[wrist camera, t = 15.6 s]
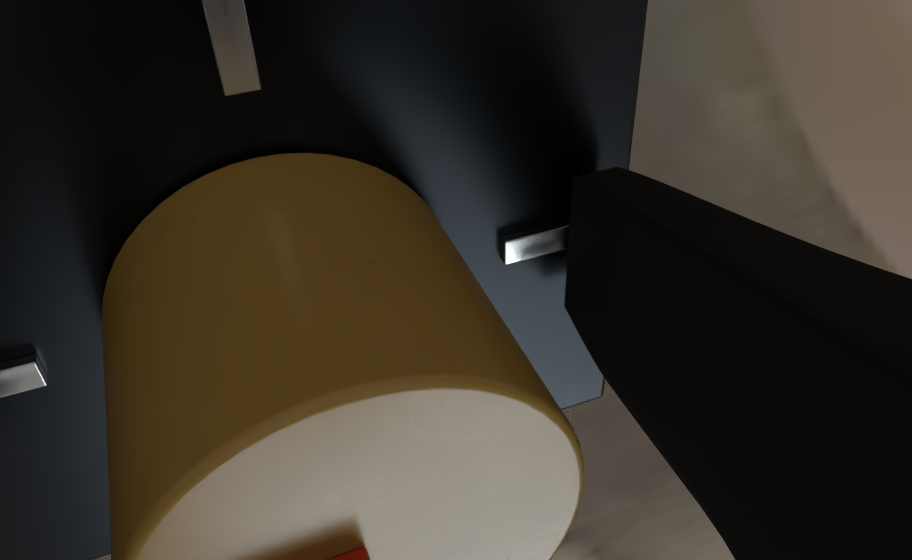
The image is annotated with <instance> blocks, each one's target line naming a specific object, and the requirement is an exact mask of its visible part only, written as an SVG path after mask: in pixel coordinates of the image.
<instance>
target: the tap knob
mask: <svg viewBox="0 0 912 560" xmlns="http://www.w3.org/2000/svg"><path fill="white" fill-rule="evenodd" d="M102 338H103V363H104V388H105V413H106V438H107V463H108V488H109V513H110V538H111V560H551V558H552V557H553V556H554V554H555V553H556V551H557V550H558V548H559V547H560V545H561V544H562V542H563V541H564V539H565V538H566V536H567V534H568V532H569V530H570V528H571V526H572V524H573V522H574V520H575V517H576V514H577V511H578V508H579V505H580V502H581V497H582V492H583V486H584V464H583V457H582V452H581V447H580V443H579V440H578V438H577V436H576V434H575V432H574V430H573V427H572V425H571V424H570V422H569V421H568V419H567V418H566V416H565V415H564V413H563V412H562V410H561V409H560V407H559V405H558V404H557V402H556V401H555V399H554V398H553V396H552V395H551V393H550V392H549V390H548V389H547V387H546V385H545V384H544V382H543V381H542V379H541V378H540V376H539V375H538V373H537V372H536V370H535V368H534V367H533V365H532V364H531V362H530V361H529V359H528V358H527V356H526V355H525V353H524V352H523V350H522V348H521V347H520V345H519V344H518V342H517V341H516V339H515V338H514V336H513V335H512V333H511V331H510V330H509V328H508V327H507V325H506V324H505V322H504V321H503V319H502V318H501V316H500V315H499V313H498V311H497V310H496V308H495V307H494V305H493V304H492V302H491V301H490V299H489V298H488V296H487V294H486V293H485V291H484V290H483V288H482V287H481V285H480V284H479V282H478V281H477V279H476V278H475V276H474V274H473V273H472V271H471V270H470V268H469V267H468V265H467V264H466V262H465V261H464V259H463V257H462V256H461V254H460V253H459V251H458V250H457V248H456V247H455V245H454V244H453V242H452V241H451V239H450V237H449V236H448V234H447V233H446V231H445V230H444V228H443V227H442V225H441V224H440V222H439V220H438V219H437V217H436V216H435V215H434V213H433V212H432V211H431V209H430V208H429V206H428V205H427V204H426V202H425V201H424V200H423V199H422V198H421V197H420V196H418V195H417V194H416V193H415V192H414V191H413V190H412V189H411V188H410V187H408V186H407V185H406V184H404V183H403V182H401V181H400V180H399V179H397V178H396V177H394V176H392V175H390V174H388V173H386V172H384V171H382V170H380V169H379V168H377V167H374V166H371V165H368V164H365V163H362V162H360V161H357V160H353V159H348V158H344V157H339V156H334V155H328V154H316V153H283V154H275V155H268V156H262V157H255V158H252V159H248V160H244V161H241V162H237V163H234V164H230V165H228V166H225V167H223V168H220V169H218V170H215V171H213V172H210V173H208V174H205V175H204V176H202V177H200V178H198V179H196V180H194V181H193V182H191V183H189V184H187V185H185V186H184V187H182V188H181V189H179V190H178V191H176V192H175V193H174V194H172V195H171V196H170V197H168V198H167V199H165V200H164V201H163V202H161V203H160V204H159V205H158V206H157V207H156V208H155V209H154V210H153V211H152V212H151V213H150V214H149V215H148V216H146V217H145V218H144V219H143V220H142V222H141V223H140V224H139V225H138V226H137V228H136V229H135V230H134V231H133V233H132V234H131V235H130V236H129V238H128V239H127V240H126V242H125V244H124V245H123V247H122V249H121V250H120V252H119V254H118V255H117V257H116V259H115V261H114V263H113V266H112V268H111V271H110V273H109V276H108V278H107V282H106V287H105V291H104V296H103V302H102Z"/></svg>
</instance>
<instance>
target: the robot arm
mask: <svg viewBox="0 0 912 560" xmlns="http://www.w3.org/2000/svg"><path fill="white" fill-rule="evenodd" d="M564 307H565V309H566V311H567V313H568V314H569V316H570V318H571V320H572V322H573V324H574V326H575V328H576V330H577V332H578V333H579V335H580V337H581V339H582V341H583V343H584V345H585V346H586V348H587V350H588V352H589V353H590V355H591V357H592V359H593V360H594V362H595V364H596V366H597V367H598V369H599V371H600V372H601V373H602V375H603V376H604V378H605V379H606V380H607V382H608V383H609V385H610V386H611V387H612V389H613V390H614V391H615V393H616V394H617V395H618V397H619V398H620V400H621V401H622V402H623V404H624V405H625V406H626V408H627V409H628V410H629V412H630V413H631V414H632V416H633V417H634V419H635V420H636V421H637V422H638V424H639V425H640V426H641V428H642V429H643V430H644V432H645V433H646V434H647V436H648V437H649V438H650V440H651V441H652V442H653V444H654V445H655V446H656V448H657V449H658V450H659V452H660V453H661V454H662V456H663V457H664V458H665V460H666V461H667V462H668V464H669V465H670V466H671V468H672V469H673V470H674V472H675V473H676V474H677V476H678V477H679V478H680V480H681V481H682V482H683V484H684V485H685V486H686V488H687V489H688V490H689V492H690V493H691V494H692V496H693V497H694V498H695V500H696V501H697V502H698V504H699V505H700V506H701V508H702V509H703V511H704V512H705V513H706V515H707V516H708V518H709V519H710V521H711V522H712V524H713V525H714V527H715V528H716V529H717V531H718V532H719V534H720V535H721V537H722V538H723V540H724V541H725V543H726V545H727V546H728V548H729V550H730V551H731V553H732V555H733V556H734V558H735V560H912V279H910V278H907V277H904V276H901V275H897V274H894V273H891V272H888V271H885V270H882V269H879V268H877V267H874V266H871V265H868V264H865V263H863V262H860V261H857V260H854V259H851V258H849V257H846V256H843V255H840V254H837V253H835V252H832V251H829V250H826V249H823V248H821V247H818V246H816V245H813V244H810V243H808V242H805V241H803V240H800V239H797V238H795V237H792V236H790V235H787V234H785V233H782V232H780V231H777V230H775V229H772V228H770V227H767V226H765V225H763V224H760V223H758V222H755V221H753V220H750V219H748V218H745V217H743V216H741V215H738V214H736V213H734V212H731V211H729V210H726V209H724V208H722V207H719V206H717V205H714V204H712V203H710V202H707V201H705V200H703V199H700V198H698V197H695V196H693V195H691V194H688V193H686V192H684V191H681V190H679V189H676V188H674V187H671V186H669V185H667V184H664V183H662V182H659V181H657V180H654V179H651V178H649V177H646V176H644V175H641V174H638V173H635V172H633V171H629V170H626V169H623V168H620V167H613V168H609V169H605V170H600V171H596V172H592V173H588V174H584V175H579V176H575V177H572V192H571V208H570V224H569V239H568V255H567V270H566V286H565V301H564Z"/></svg>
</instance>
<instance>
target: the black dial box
mask: <svg viewBox="0 0 912 560" xmlns="http://www.w3.org/2000/svg"><path fill="white" fill-rule="evenodd" d="M647 4H648V0H0V560H93V559H96V558H99V557H103V556H106V555H109V554H111V538H110V513H109V488H108V463H107V438H106V413H105V388H104V363H103V338H102V302H103V296H104V291H105V287H106V282H107V278H108V276H109V273H110V271H111V268H112V266H113V263H114V261H115V259H116V257H117V255H118V254H119V252H120V250H121V249H122V247H123V245H124V244H125V242H126V240H127V239H128V238H129V236H130V235H131V234H132V233H133V231H134V230H135V229H136V228H137V226H138V225H139V224H140V223H141V222H142V220H143V219H144V218H145V217H146V216H148V215H149V214H150V213H151V212H152V211H153V210H154V209H155V208H156V207H157V206H158V205H159V204H160V203H161V202H163V201H164V200H165V199H167V198H168V197H170V196H171V195H172V194H174V193H175V192H176V191H178V190H179V189H181V188H182V187H184V186H185V185H187V184H189V183H191V182H193V181H194V180H196V179H198V178H200V177H202V176H204V175H205V174H208V173H210V172H213V171H215V170H218V169H220V168H223V167H225V166H228V165H230V164H234V163H237V162H241V161H244V160H248V159H252V158H255V157H262V156H268V155H275V154H283V153H316V154H328V155H334V156H339V157H344V158H348V159H353V160H357V161H360V162H362V163H365V164H368V165H371V166H374V167H377V168H379V169H380V170H382V171H384V172H386V173H388V174H390V175H392V176H394V177H396V178H397V179H399V180H400V181H401V182H403V183H404V184H406V185H407V186H408V187H410V188H411V189H412V190H413V191H414V192H415V193H416V194H417V195H418V196H420V197H421V198H422V199H423V200H424V201H425V202H426V204H427V205H428V206H429V208H430V209H431V211H432V212H433V213H434V215H435V216H436V217H437V219H438V220H439V222H440V224H441V225H442V227H443V228H444V230H445V231H446V233H447V234H448V236H449V237H450V239H451V241H452V242H453V244H454V245H455V247H456V248H457V250H458V251H459V253H460V254H461V256H462V257H463V259H464V261H465V262H466V264H467V265H468V267H469V268H470V270H471V271H472V273H473V274H474V276H475V278H476V279H477V281H478V282H479V284H480V285H481V287H482V288H483V290H484V291H485V293H486V294H487V296H488V298H489V299H490V301H491V302H492V304H493V305H494V307H495V308H496V310H497V311H498V313H499V315H500V316H501V318H502V319H503V321H504V322H505V324H506V325H507V327H508V328H509V330H510V331H511V333H512V335H513V336H514V338H515V339H516V341H517V342H518V344H519V345H520V347H521V348H522V350H523V352H524V353H525V355H526V356H527V358H528V359H529V361H530V362H531V364H532V365H533V367H534V368H535V370H536V372H537V373H538V375H539V376H540V378H541V379H542V381H543V382H544V384H545V385H546V387H547V389H548V390H549V392H550V393H551V395H552V396H553V398H554V399H555V401H556V402H557V404H558V405H559V407H560V409H561V410H562V409H565V408H569V407H572V406H575V405H578V404H581V403H584V402H587V401H590V400H594V399H597V398H600V397H601V396H602V395H603V391H604V382H605V378H604V376H603V375H602V373H601V372H600V371H599V369H598V367H597V366H596V364H595V362H594V360H593V359H592V357H591V355H590V353H589V352H588V350H587V348H586V346H585V345H584V343H583V341H582V339H581V337H580V335H579V333H578V332H577V330H576V328H575V326H574V324H573V322H572V320H571V318H570V316H569V314H568V313H567V311H566V309H565V307H564V301H565V286H566V270H567V255H568V239H569V224H570V208H571V192H572V177H575V176H579V175H584V174H588V173H592V172H596V171H600V170H605V169H609V168H613V167H620V168H623V169H626V170H629V162H630V153H631V144H632V136H633V127H634V118H635V109H636V100H637V92H638V83H639V74H640V65H641V56H642V48H643V39H644V30H645V21H646V12H647Z"/></svg>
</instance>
